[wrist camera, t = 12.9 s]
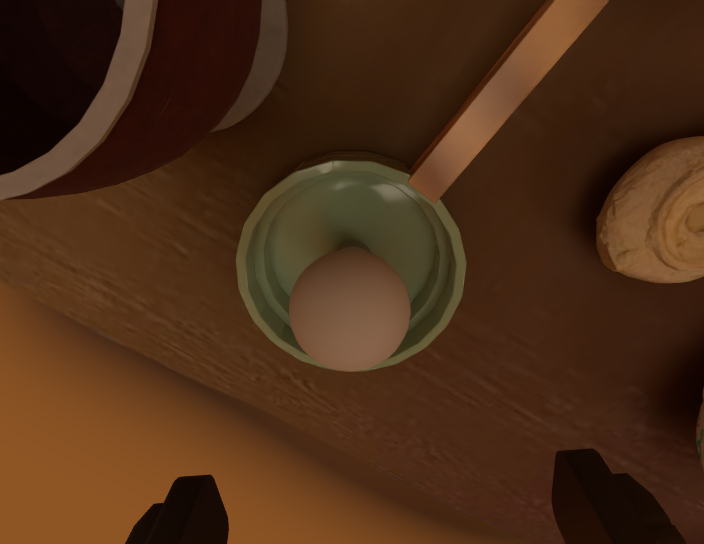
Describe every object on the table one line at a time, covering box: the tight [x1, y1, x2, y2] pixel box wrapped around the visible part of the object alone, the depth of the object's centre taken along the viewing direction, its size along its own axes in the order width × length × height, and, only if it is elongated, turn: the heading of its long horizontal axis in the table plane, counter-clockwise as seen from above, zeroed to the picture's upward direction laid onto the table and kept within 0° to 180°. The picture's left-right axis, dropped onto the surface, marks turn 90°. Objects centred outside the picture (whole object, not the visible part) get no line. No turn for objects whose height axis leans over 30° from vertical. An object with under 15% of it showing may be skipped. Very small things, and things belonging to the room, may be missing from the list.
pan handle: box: [407, 0, 609, 204], centre depth 21 cm, size 12×2×2 cm, turn 143°
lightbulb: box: [289, 240, 411, 372], centre depth 24 cm, size 6×6×11 cm
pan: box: [236, 151, 466, 371], centre depth 27 cm, size 14×14×4 cm
